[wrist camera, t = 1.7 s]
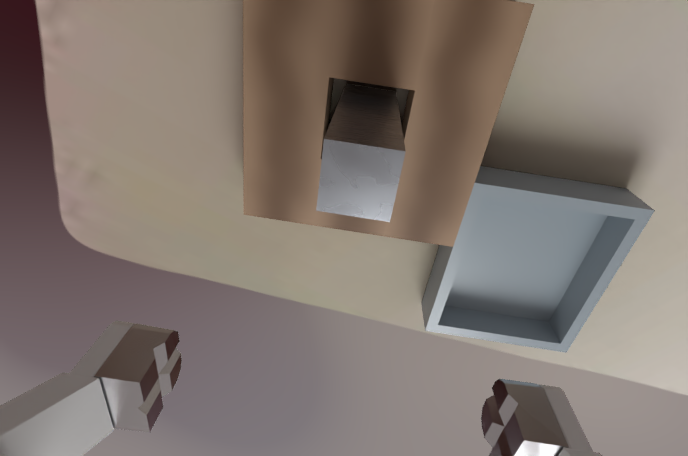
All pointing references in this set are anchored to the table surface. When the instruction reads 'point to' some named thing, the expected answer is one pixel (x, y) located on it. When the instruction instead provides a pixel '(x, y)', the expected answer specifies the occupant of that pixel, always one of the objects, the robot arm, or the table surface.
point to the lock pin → (362, 155)
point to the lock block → (381, 69)
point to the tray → (531, 258)
